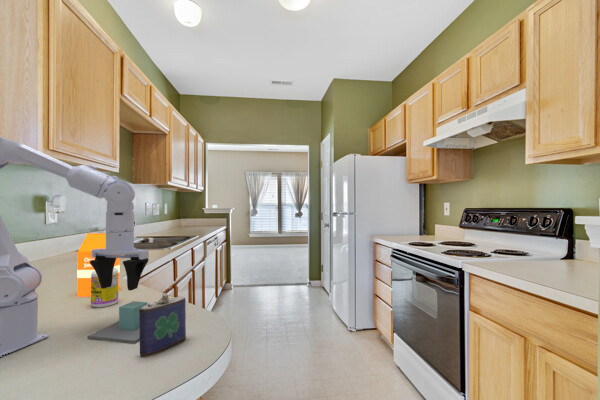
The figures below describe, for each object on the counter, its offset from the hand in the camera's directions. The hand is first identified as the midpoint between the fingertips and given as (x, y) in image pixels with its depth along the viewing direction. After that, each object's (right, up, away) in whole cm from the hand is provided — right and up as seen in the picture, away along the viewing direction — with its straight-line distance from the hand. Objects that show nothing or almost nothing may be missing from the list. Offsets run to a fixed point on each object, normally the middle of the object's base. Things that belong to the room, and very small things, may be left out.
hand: (119, 288), depth 66 cm
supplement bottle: (-14, -10, +16) cm, 23 cm away
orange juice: (-24, -10, +27) cm, 38 cm away
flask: (+16, -9, -10) cm, 21 cm away
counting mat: (+4, -9, -2) cm, 10 cm away
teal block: (+4, -8, -2) cm, 10 cm away
